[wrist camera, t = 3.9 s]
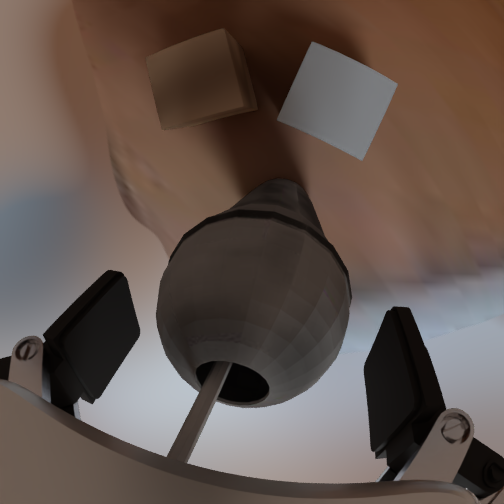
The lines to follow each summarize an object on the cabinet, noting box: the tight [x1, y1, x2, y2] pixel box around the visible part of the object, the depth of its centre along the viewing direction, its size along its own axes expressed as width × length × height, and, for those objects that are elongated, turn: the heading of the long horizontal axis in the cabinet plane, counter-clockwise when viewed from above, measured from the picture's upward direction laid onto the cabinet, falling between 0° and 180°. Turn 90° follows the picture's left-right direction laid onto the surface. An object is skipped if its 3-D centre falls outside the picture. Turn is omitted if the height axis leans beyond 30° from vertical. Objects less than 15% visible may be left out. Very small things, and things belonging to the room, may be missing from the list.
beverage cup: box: [156, 179, 352, 463], centre depth 12 cm, size 7×7×20 cm
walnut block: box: [145, 28, 258, 130], centre depth 15 cm, size 5×5×5 cm
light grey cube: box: [277, 42, 398, 161], centre depth 14 cm, size 5×5×5 cm
